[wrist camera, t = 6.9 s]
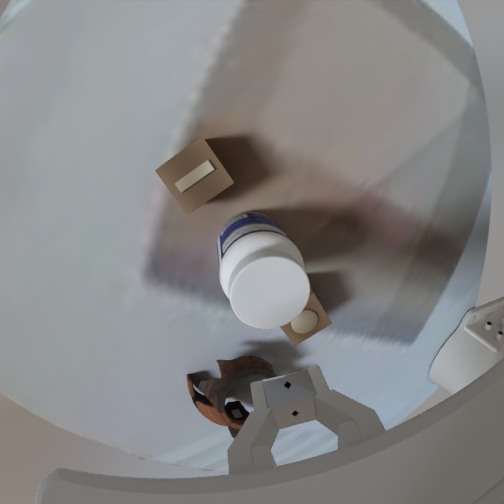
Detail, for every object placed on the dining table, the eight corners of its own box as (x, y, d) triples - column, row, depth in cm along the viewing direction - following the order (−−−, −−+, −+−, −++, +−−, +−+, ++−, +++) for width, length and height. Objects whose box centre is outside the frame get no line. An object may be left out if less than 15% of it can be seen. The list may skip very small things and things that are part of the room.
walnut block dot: (300, 273, 27) (314, 294, 23) (318, 301, 28) (332, 324, 24) (265, 295, 27) (274, 319, 23) (285, 322, 29) (295, 347, 25)
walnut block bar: (204, 139, 21) (201, 136, 18) (231, 178, 23) (234, 183, 19) (165, 167, 22) (154, 170, 18) (192, 205, 23) (187, 216, 19)
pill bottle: (274, 274, 26) (304, 338, 17) (213, 267, 25) (214, 333, 16) (287, 214, 24) (330, 254, 15) (222, 205, 24) (227, 241, 14)
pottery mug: (170, 354, 29) (195, 384, 22) (242, 327, 34) (283, 344, 26) (201, 431, 30) (230, 467, 23) (261, 402, 35) (299, 428, 28)
